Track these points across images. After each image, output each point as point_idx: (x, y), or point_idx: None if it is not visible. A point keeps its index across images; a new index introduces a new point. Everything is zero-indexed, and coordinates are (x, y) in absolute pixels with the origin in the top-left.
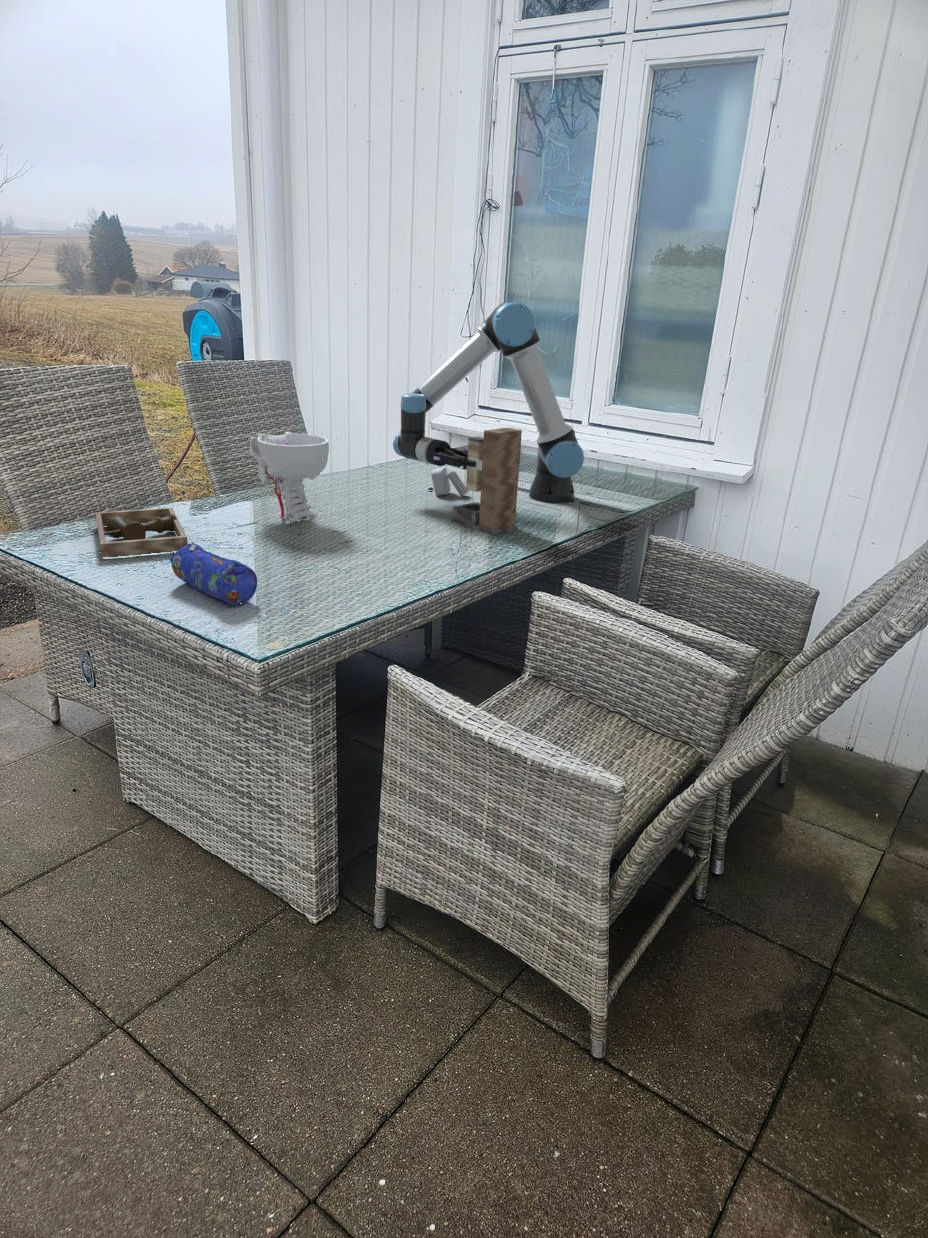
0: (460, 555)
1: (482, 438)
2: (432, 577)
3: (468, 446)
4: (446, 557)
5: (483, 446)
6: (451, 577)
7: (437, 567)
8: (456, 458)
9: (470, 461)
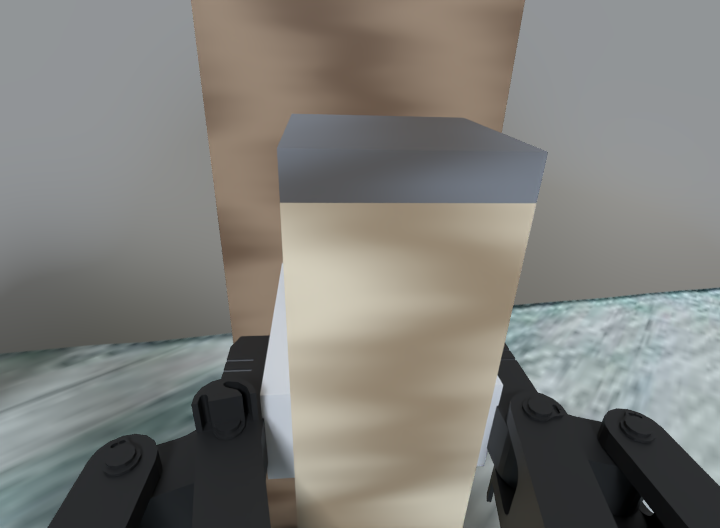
0: (614, 376)
1: (361, 121)
2: (712, 324)
3: (512, 291)
4: (662, 382)
5: (501, 128)
6: (665, 311)
7: (697, 351)
8: (678, 447)
9: (506, 353)
